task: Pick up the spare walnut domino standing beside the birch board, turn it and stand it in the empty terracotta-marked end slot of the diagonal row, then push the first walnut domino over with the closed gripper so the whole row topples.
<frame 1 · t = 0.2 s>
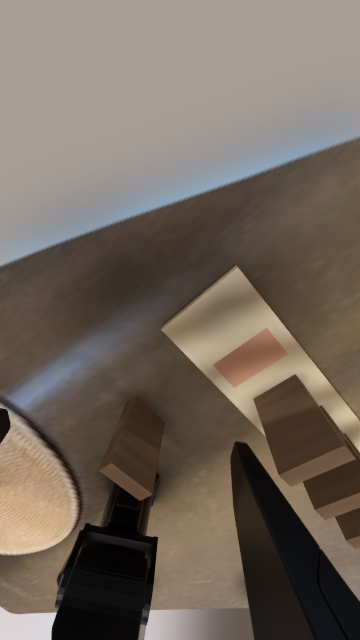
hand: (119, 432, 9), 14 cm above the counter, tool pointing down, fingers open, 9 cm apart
domino 3: (303, 420, 24), point 1 cm above the counter, touching domino board
domino board: (290, 402, 25), on the counter
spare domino: (145, 413, 27), on the counter
domino 4: (277, 391, 23), point 1 cm above the counter, touching domino board
domino 2: (327, 447, 26), point 1 cm above the counter, touching domino board
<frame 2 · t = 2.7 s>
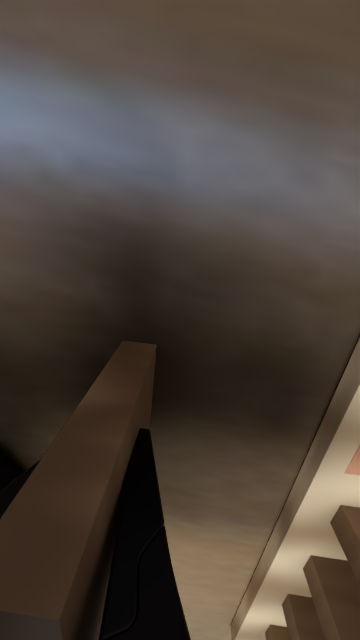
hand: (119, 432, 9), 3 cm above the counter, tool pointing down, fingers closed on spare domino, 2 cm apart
domino 3: (346, 567, 14), point 1 cm above the counter, touching domino board
domino 1: (298, 633, 18), point 1 cm above the counter, touching domino board
domino board: (348, 529, 14), on the counter
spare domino: (137, 386, 11), on the counter, touching gripper
domino 2: (320, 604, 16), point 1 cm above the counter, touching domino board
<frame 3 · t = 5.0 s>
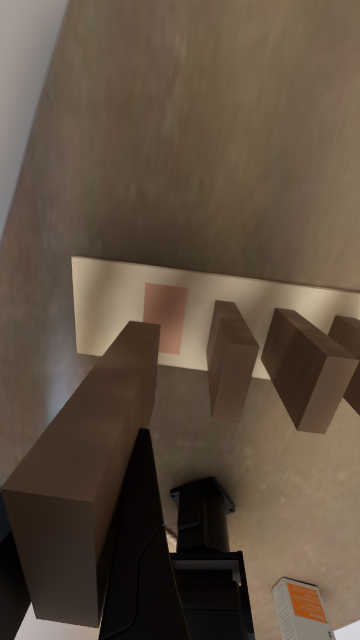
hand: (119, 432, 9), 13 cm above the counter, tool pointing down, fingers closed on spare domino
domino 3: (276, 335, 20), point 1 cm above the counter, touching domino board
domino board: (251, 328, 21), on the counter
skincare box: (293, 584, 36), on the counter
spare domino: (142, 364, 12), point 9 cm above the counter, touching gripper
domino 4: (219, 328, 20), point 1 cm above the counter, touching domino board
domino 2: (334, 343, 19), point 1 cm above the counter, touching domino board
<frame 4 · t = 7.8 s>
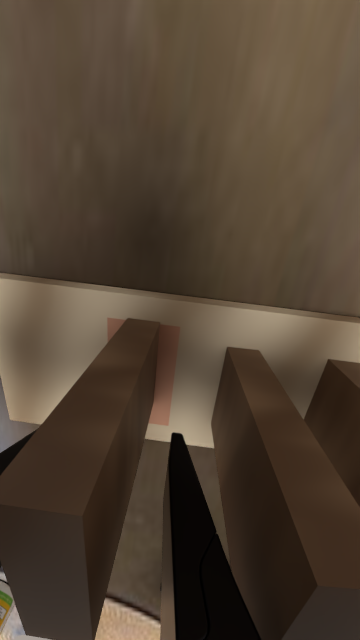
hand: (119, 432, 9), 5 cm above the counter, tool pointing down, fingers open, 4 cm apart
domino 3: (326, 401, 12), point 1 cm above the counter, touching domino board
domino board: (282, 384, 13), on the counter
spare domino: (141, 363, 12), point 1 cm above the counter, touching domino board
domino 4: (233, 389, 12), point 1 cm above the counter, touching domino board, gripper
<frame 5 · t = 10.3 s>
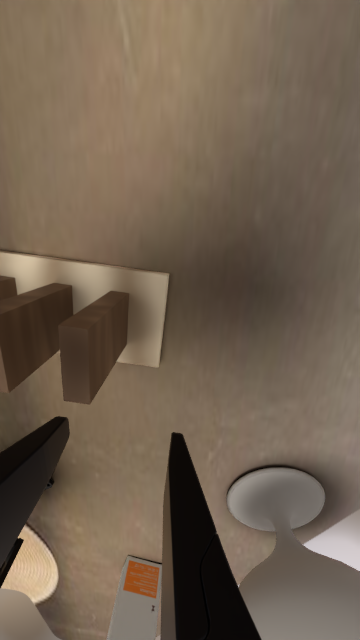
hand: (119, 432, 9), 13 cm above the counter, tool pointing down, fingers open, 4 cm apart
chalice: (273, 495, 29), on the counter
domino 3: (10, 303, 20), point 1 cm above the counter, touching domino board
domino 1: (119, 318, 20), point 1 cm above the counter, touching domino board
skincare box: (142, 563, 36), on the counter
domino 2: (64, 311, 20), point 1 cm above the counter, touching domino board
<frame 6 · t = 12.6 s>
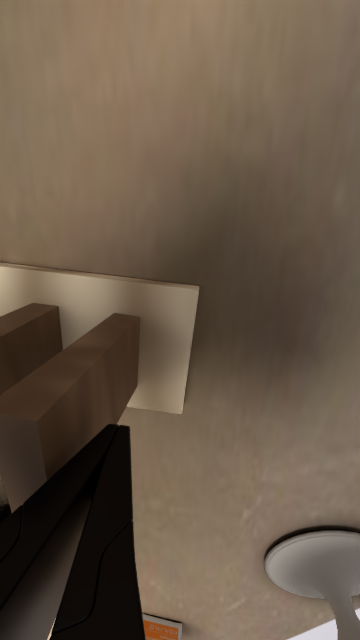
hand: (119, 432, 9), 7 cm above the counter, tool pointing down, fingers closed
chalice: (323, 558, 23), on the counter
domino 1: (126, 351, 14), point 1 cm above the counter, tilted 6°, touching domino board, gripper
skincare box: (157, 620, 31), on the counter
domino 2: (50, 341, 14), point 1 cm above the counter, touching domino board
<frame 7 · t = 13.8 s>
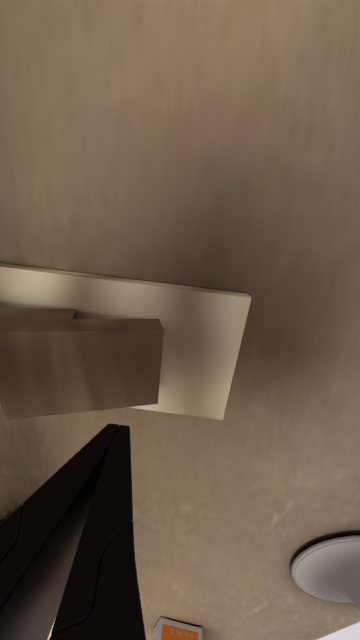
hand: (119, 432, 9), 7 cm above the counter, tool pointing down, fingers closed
chalice: (349, 562, 23), on the counter
domino 1: (158, 362, 14), point 2 cm above the counter, tilted 72°, touching domino 2, domino board
domino board: (2, 327, 15), on the counter
skincare box: (176, 624, 31), on the counter
domino 2: (76, 351, 14), point 2 cm above the counter, tilted 72°, touching domino 1, domino 3, domino board
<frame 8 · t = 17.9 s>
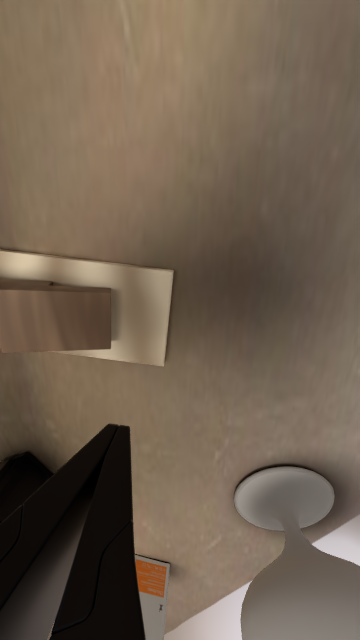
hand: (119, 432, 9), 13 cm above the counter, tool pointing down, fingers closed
chalice: (281, 495, 29), on the counter
domino 1: (110, 318, 19), point 2 cm above the counter, tilted 72°, touching domino 2, domino board
domino board: (0, 297, 21), on the counter
skincare box: (149, 562, 36), on the counter
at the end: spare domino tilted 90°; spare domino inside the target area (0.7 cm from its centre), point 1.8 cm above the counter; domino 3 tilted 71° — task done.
